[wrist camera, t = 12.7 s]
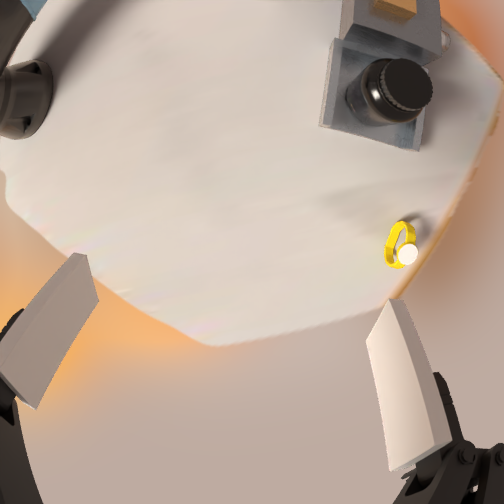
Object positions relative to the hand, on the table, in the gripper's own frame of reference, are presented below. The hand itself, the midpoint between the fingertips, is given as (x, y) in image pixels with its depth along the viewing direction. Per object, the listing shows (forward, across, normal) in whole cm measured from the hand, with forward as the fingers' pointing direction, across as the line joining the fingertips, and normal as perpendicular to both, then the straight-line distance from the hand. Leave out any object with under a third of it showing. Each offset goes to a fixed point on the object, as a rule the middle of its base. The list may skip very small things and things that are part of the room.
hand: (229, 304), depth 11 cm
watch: (+24, +19, -7) cm, 31 cm away
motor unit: (+28, +13, +15) cm, 34 cm away
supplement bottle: (+26, +12, +10) cm, 31 cm away
